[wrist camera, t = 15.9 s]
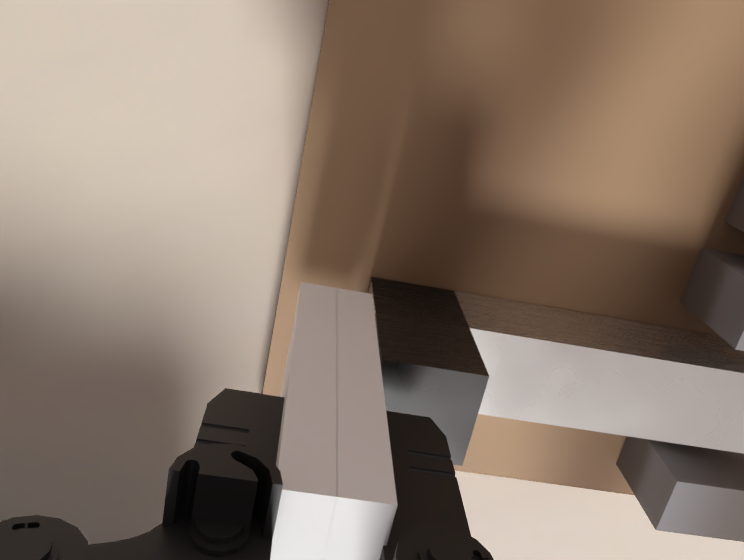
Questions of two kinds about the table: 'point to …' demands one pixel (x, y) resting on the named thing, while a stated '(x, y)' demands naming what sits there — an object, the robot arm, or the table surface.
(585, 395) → the pin
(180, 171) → the table surface
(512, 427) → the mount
